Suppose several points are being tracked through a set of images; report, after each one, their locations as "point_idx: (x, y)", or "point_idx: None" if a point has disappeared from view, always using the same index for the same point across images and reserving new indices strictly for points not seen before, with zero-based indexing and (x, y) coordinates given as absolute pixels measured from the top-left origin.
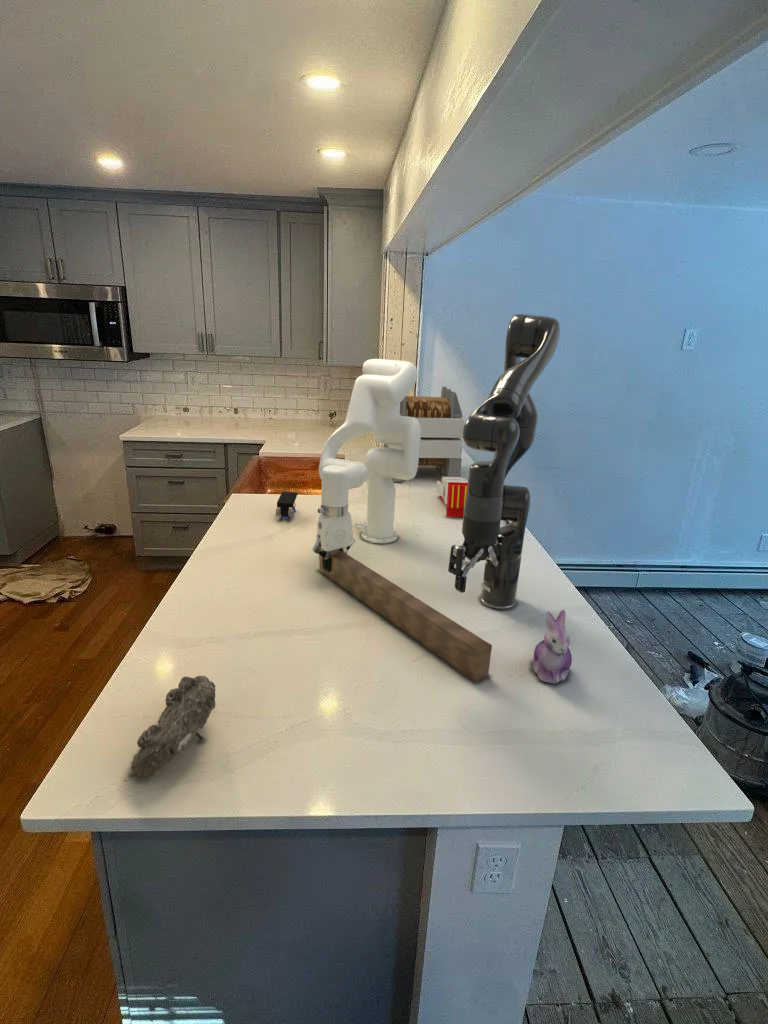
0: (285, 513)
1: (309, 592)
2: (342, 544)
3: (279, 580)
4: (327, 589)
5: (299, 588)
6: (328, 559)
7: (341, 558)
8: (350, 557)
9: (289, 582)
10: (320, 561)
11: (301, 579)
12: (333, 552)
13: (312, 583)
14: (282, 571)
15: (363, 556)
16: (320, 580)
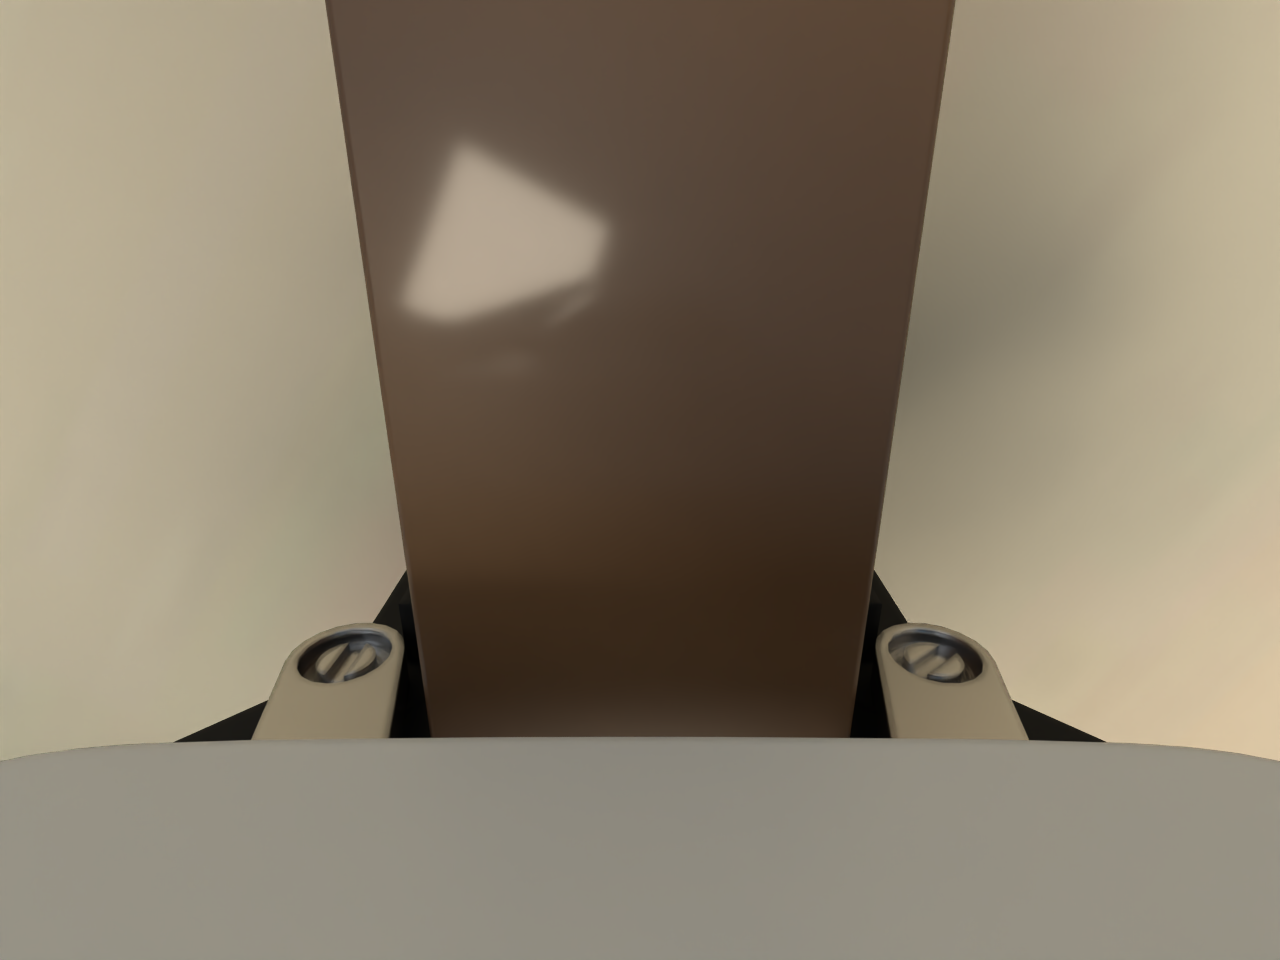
0: None
1: (1267, 236)
2: (427, 881)
3: (1261, 720)
4: (995, 164)
5: (1264, 424)
6: (876, 624)
7: (772, 264)
8: (411, 146)
9: (1220, 626)
10: None
11: (1052, 620)
12: None
13: (1026, 457)
14: None
15: (8, 747)
16: None
